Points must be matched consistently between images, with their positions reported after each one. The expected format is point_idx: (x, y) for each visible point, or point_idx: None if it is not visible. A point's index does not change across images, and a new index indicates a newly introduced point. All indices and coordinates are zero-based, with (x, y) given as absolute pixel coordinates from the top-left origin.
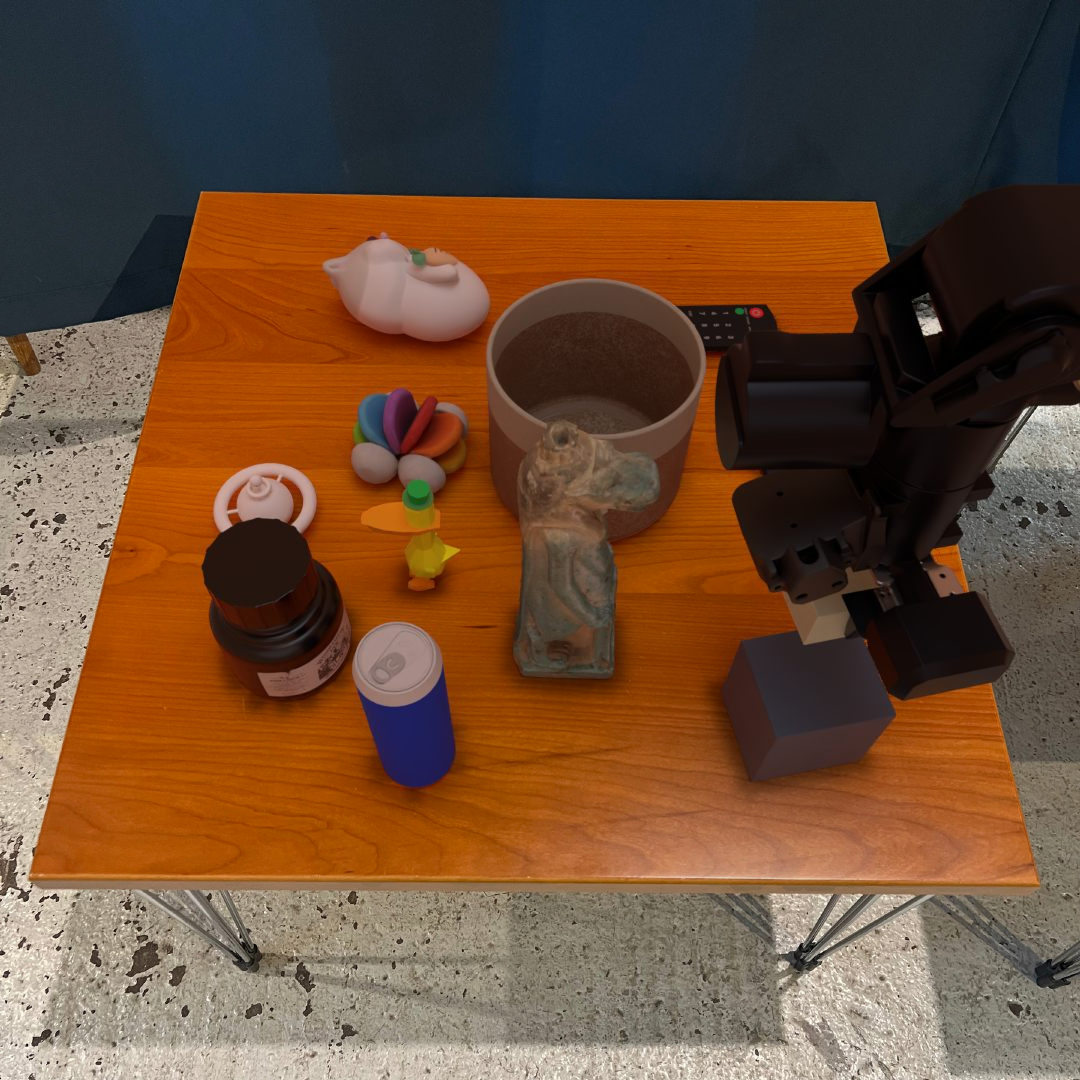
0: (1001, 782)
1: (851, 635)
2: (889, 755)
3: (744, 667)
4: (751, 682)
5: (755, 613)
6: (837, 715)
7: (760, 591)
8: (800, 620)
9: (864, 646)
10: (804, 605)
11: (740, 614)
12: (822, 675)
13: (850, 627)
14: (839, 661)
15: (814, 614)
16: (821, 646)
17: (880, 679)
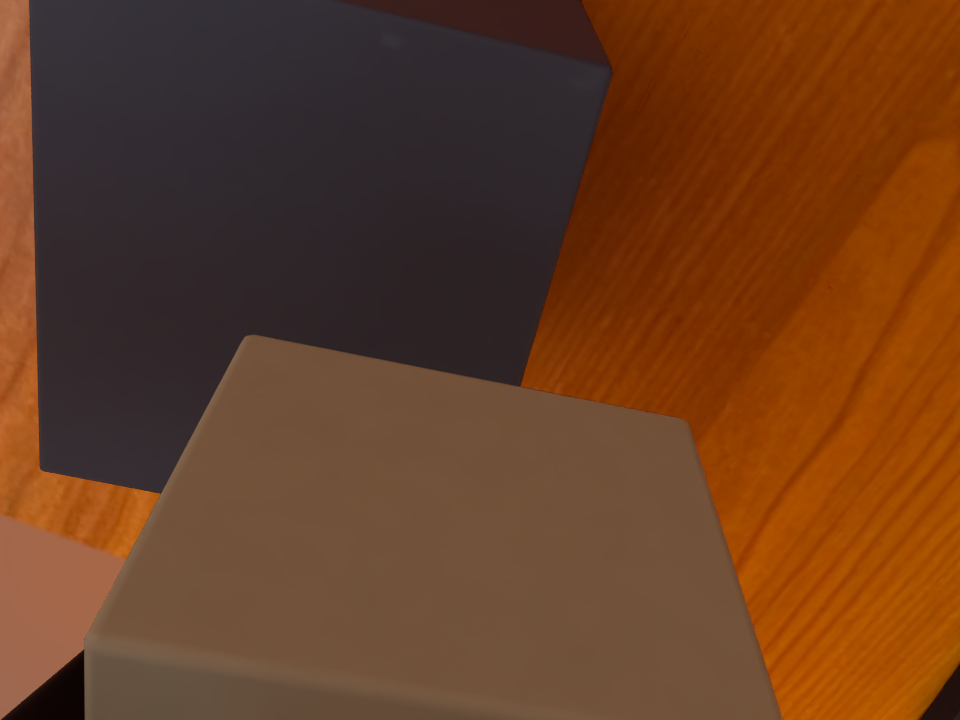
0: (51, 527)
1: (73, 658)
2: None
3: (499, 21)
4: (404, 3)
5: (755, 251)
6: (84, 271)
7: (811, 305)
8: (366, 421)
9: None
10: (378, 547)
11: (781, 205)
12: (285, 318)
13: (71, 714)
14: None
15: (163, 614)
16: None
17: None
